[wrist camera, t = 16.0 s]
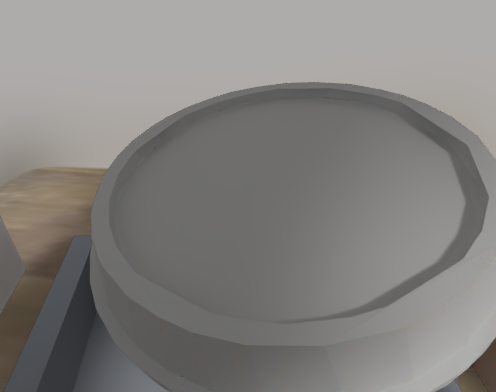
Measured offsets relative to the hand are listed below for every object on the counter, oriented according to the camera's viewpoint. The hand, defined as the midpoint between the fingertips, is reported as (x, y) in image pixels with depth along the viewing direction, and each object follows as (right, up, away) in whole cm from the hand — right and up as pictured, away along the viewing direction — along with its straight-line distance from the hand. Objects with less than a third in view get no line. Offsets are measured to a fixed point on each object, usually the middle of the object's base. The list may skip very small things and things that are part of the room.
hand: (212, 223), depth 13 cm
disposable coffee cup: (+3, -8, +4) cm, 9 cm away
